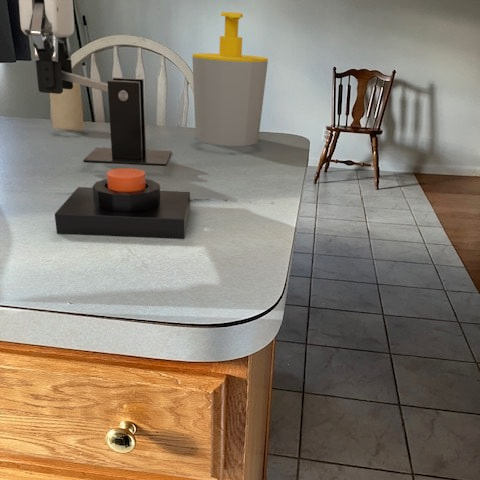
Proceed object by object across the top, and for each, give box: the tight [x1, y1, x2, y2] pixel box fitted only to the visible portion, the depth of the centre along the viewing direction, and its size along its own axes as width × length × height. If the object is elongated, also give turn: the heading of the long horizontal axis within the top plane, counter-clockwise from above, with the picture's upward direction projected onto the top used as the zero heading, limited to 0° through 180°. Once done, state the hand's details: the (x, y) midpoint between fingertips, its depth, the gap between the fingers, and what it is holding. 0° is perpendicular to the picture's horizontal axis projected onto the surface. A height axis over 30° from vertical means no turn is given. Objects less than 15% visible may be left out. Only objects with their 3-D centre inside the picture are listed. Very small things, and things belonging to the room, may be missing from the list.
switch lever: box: [61, 67, 108, 93], centre depth 78 cm, size 12×5×2 cm, turn 91°
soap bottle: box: [191, 11, 269, 147], centre depth 95 cm, size 13×13×21 cm
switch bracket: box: [82, 77, 172, 167], centre depth 81 cm, size 12×9×12 cm
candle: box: [49, 83, 85, 131], centre depth 100 cm, size 6×6×10 cm
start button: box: [106, 167, 146, 192], centre depth 58 cm, size 4×4×2 cm
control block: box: [54, 178, 191, 240], centre depth 59 cm, size 13×10×4 cm
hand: (56, 89), depth 78 cm, fingers closed on switch lever, 5 cm apart
